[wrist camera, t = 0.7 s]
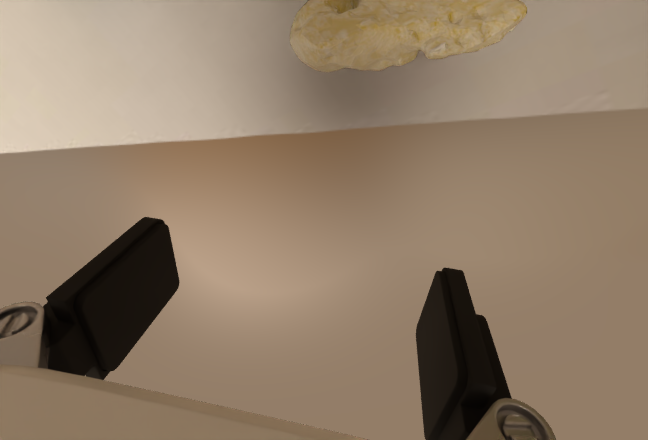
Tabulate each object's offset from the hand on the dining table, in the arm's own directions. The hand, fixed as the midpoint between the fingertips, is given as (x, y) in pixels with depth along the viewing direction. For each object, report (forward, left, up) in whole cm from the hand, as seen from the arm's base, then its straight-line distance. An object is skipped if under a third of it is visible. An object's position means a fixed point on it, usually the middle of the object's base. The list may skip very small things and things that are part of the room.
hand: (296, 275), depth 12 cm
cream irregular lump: (-9, +4, -27) cm, 28 cm away
